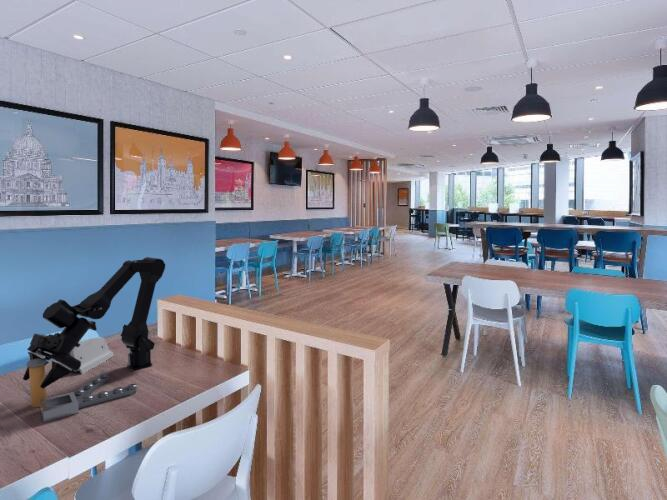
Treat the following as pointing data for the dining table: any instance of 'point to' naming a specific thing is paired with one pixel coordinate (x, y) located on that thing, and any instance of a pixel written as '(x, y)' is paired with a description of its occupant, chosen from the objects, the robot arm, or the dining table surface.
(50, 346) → the robot arm
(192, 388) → the dining table surface
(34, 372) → the pin
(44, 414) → the grey forked bracket
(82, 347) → the hinge
